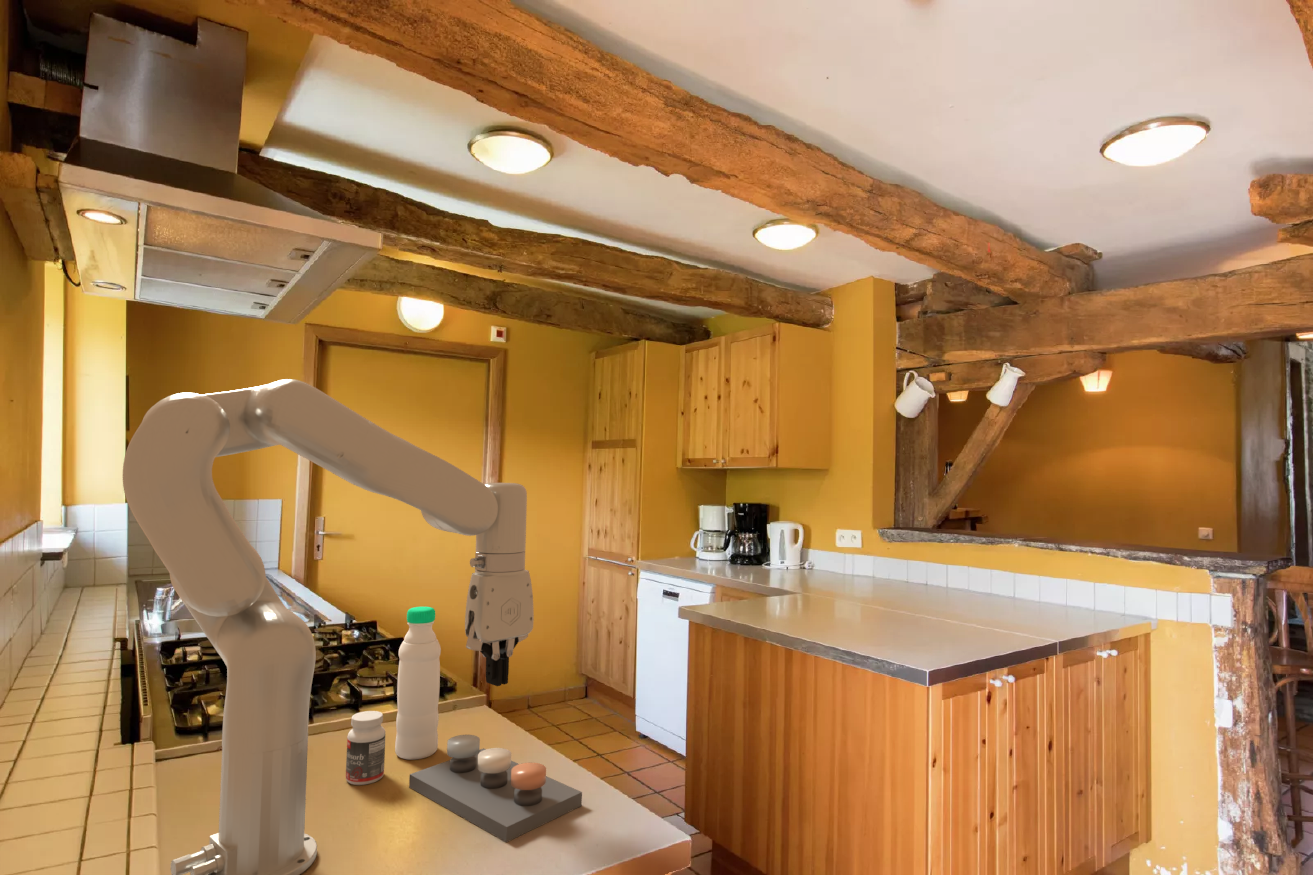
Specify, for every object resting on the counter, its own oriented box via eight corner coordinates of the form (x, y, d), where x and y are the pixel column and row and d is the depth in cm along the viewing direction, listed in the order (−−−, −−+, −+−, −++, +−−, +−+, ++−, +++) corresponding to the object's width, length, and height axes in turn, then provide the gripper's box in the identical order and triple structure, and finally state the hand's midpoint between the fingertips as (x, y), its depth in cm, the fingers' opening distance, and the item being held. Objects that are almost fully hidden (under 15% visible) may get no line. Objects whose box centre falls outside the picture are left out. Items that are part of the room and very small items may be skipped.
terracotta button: (526, 793, 101) (526, 780, 101) (503, 782, 104) (504, 770, 104) (552, 781, 105) (553, 769, 105) (530, 771, 108) (530, 759, 108)
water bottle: (424, 763, 121) (429, 613, 122) (386, 758, 122) (391, 610, 123) (444, 747, 128) (449, 605, 129) (408, 743, 129) (413, 603, 130)
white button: (491, 776, 106) (491, 764, 106) (470, 766, 109) (471, 754, 110) (517, 766, 110) (518, 754, 110) (497, 756, 113) (497, 745, 113)
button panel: (506, 842, 97) (506, 817, 97) (409, 787, 112) (409, 765, 112) (581, 805, 107) (582, 783, 107) (483, 760, 123) (484, 740, 123)
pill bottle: (337, 781, 114) (339, 717, 114) (367, 767, 119) (369, 707, 119) (362, 789, 111) (364, 724, 111) (391, 775, 116) (393, 713, 116)
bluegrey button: (459, 761, 111) (459, 749, 111) (440, 752, 115) (441, 740, 115) (485, 751, 115) (486, 740, 115) (467, 743, 118) (467, 732, 118)
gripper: (474, 570, 103) (470, 700, 102) (553, 561, 114) (550, 678, 114) (444, 565, 108) (440, 689, 107) (522, 556, 119) (519, 668, 118)
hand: (496, 683), depth 110 cm, fingers closed
